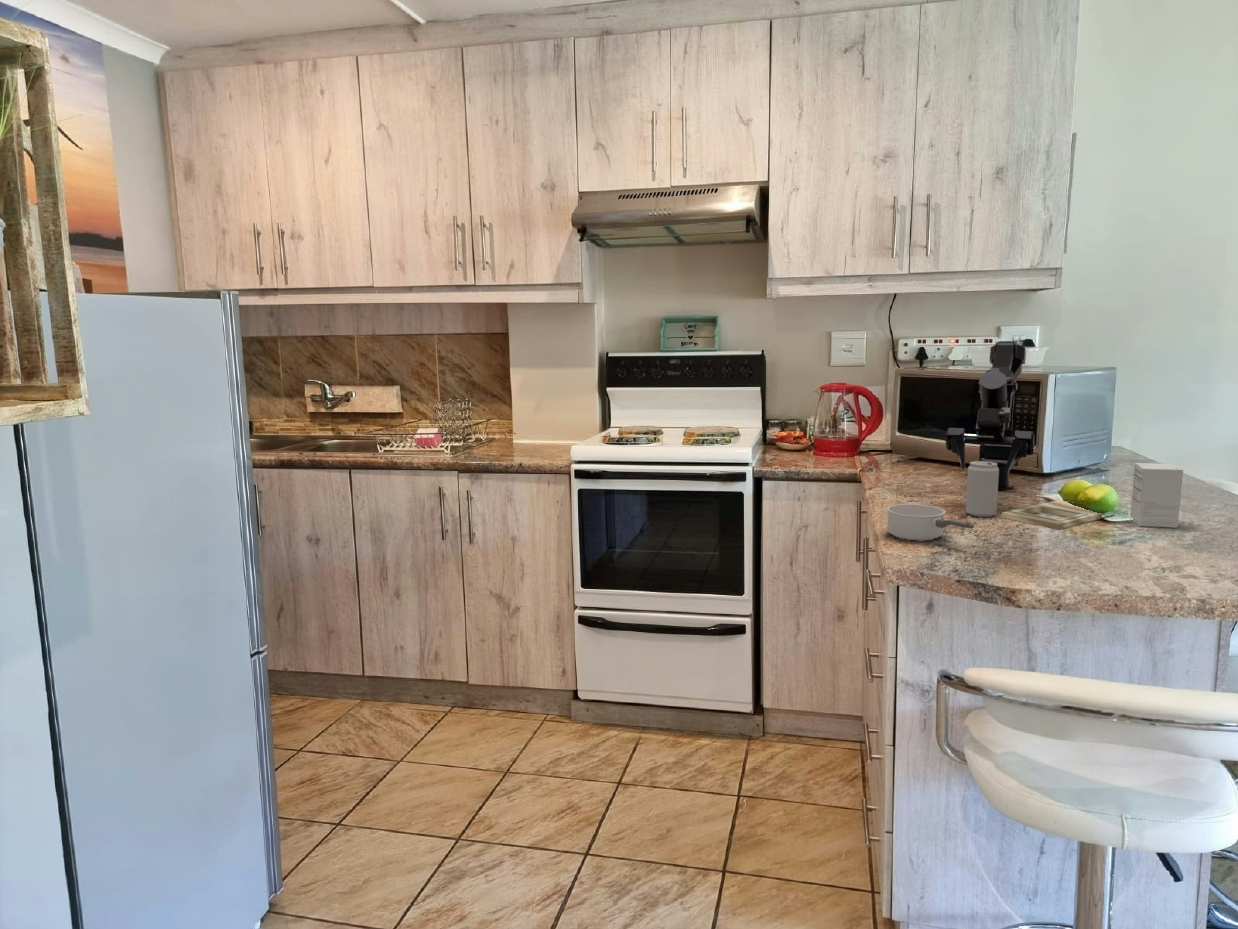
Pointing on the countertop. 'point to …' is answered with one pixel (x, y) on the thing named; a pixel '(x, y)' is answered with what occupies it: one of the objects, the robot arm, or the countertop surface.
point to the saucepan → (918, 521)
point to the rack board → (1060, 508)
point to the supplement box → (1156, 495)
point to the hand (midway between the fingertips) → (984, 470)
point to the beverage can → (982, 488)
